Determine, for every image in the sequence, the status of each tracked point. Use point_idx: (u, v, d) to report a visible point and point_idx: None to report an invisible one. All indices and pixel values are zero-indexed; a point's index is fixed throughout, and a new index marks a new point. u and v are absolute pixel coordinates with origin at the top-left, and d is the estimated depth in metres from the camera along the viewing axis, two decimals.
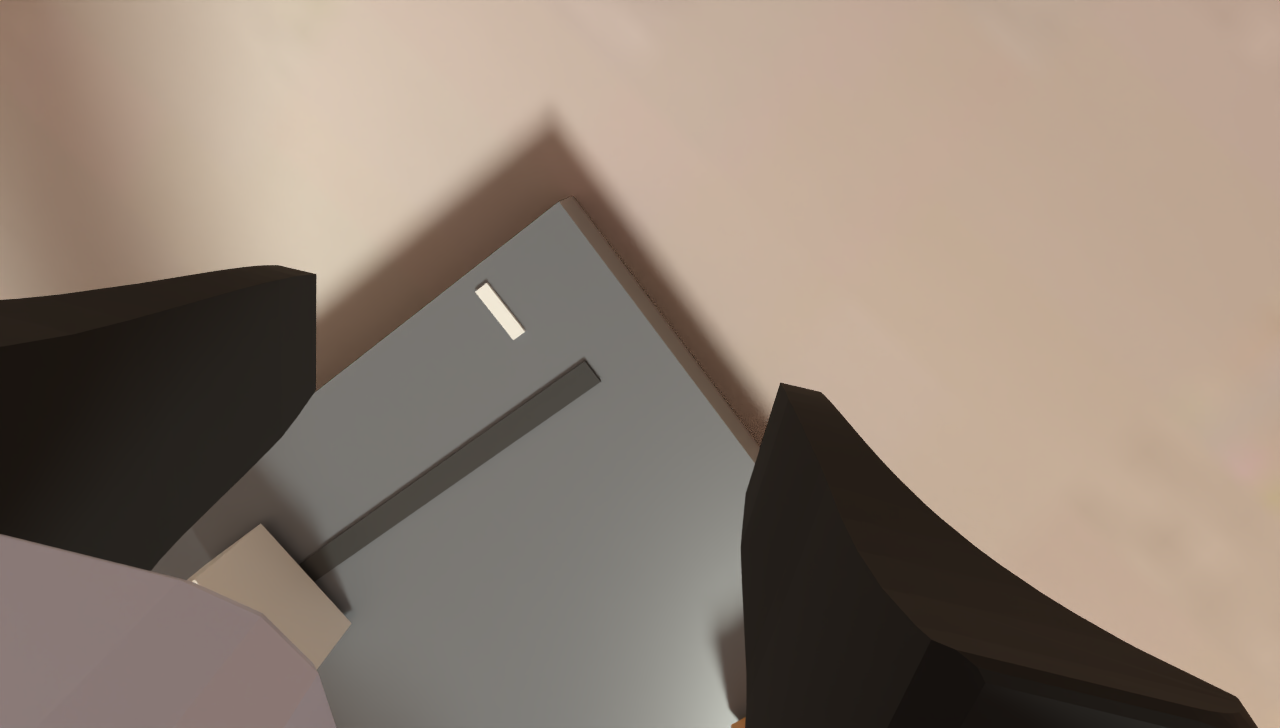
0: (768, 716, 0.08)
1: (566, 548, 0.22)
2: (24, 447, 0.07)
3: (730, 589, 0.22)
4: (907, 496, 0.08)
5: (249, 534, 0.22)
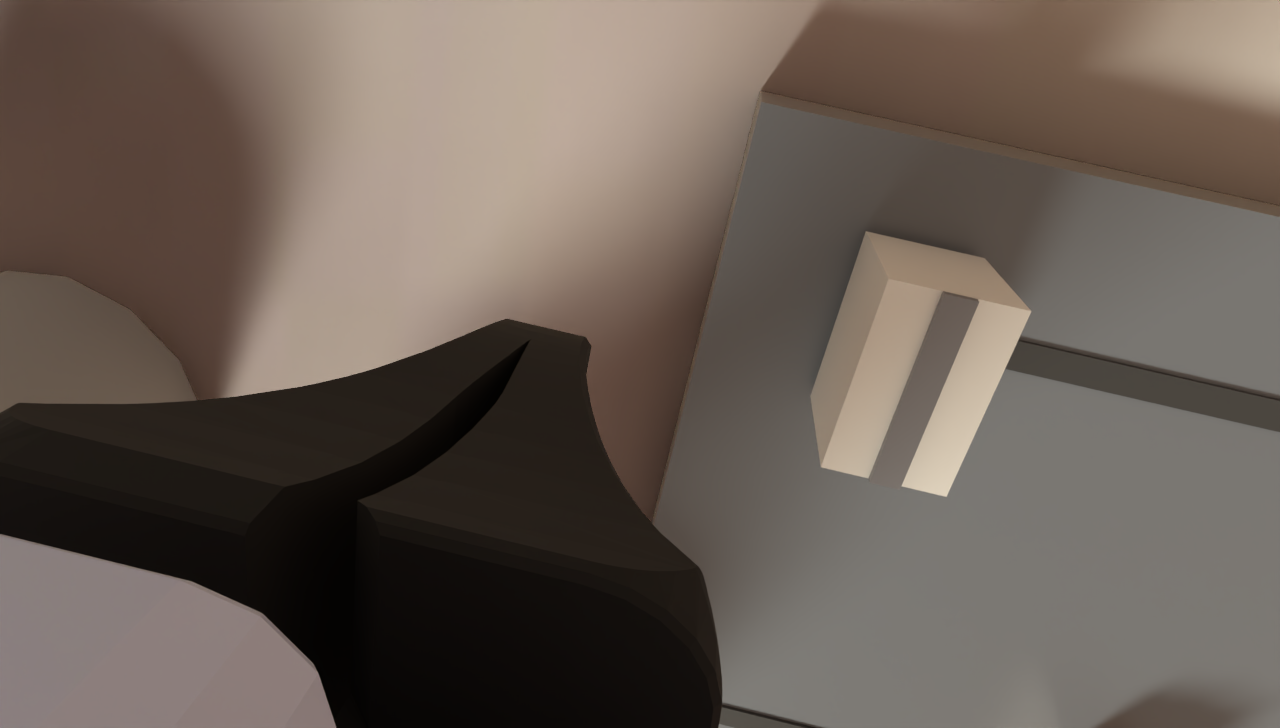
0: None
1: (1168, 541, 0.19)
2: None
3: (1219, 679, 0.20)
4: (578, 418, 0.08)
5: (990, 268, 0.16)
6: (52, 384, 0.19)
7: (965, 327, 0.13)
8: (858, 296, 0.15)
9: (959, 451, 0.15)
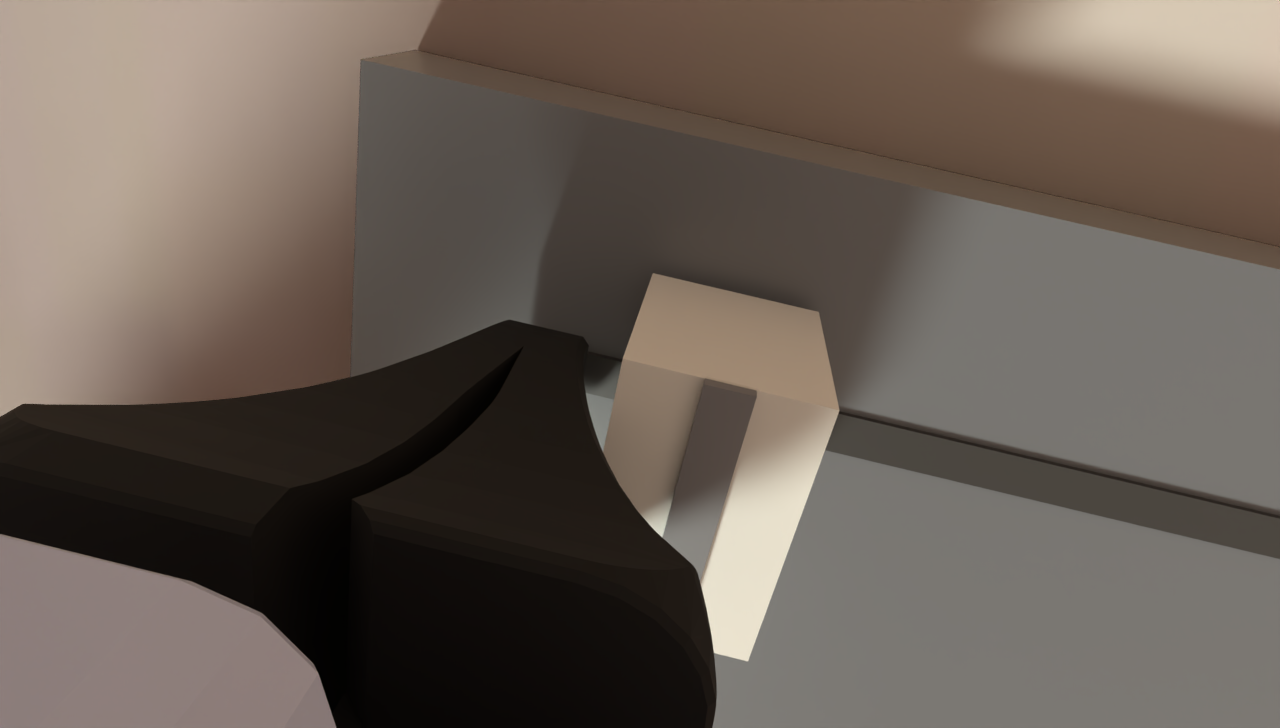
0: None
1: (987, 655, 0.14)
2: None
3: None
4: (574, 417, 0.08)
5: (819, 328, 0.11)
6: None
7: (739, 433, 0.09)
8: None
9: (758, 602, 0.10)
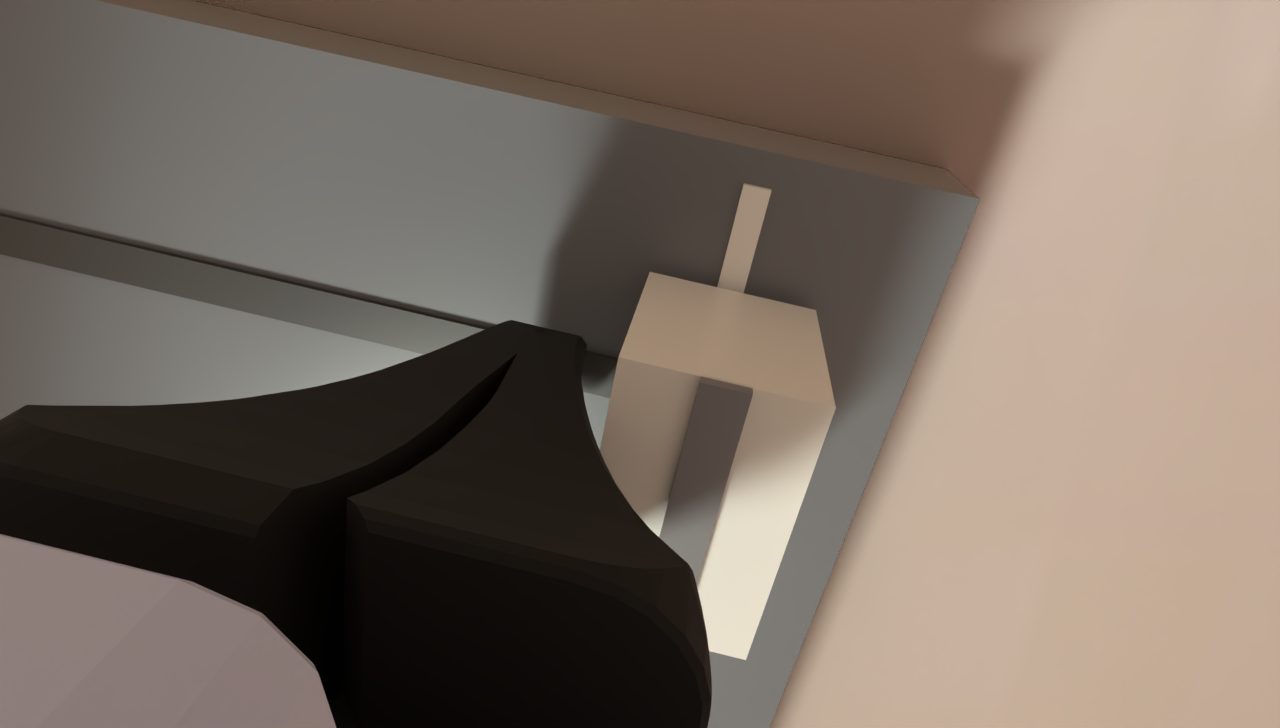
0: None
1: None
2: None
3: None
4: (571, 417, 0.08)
5: (816, 326, 0.11)
6: None
7: (737, 431, 0.09)
8: None
9: (756, 600, 0.10)
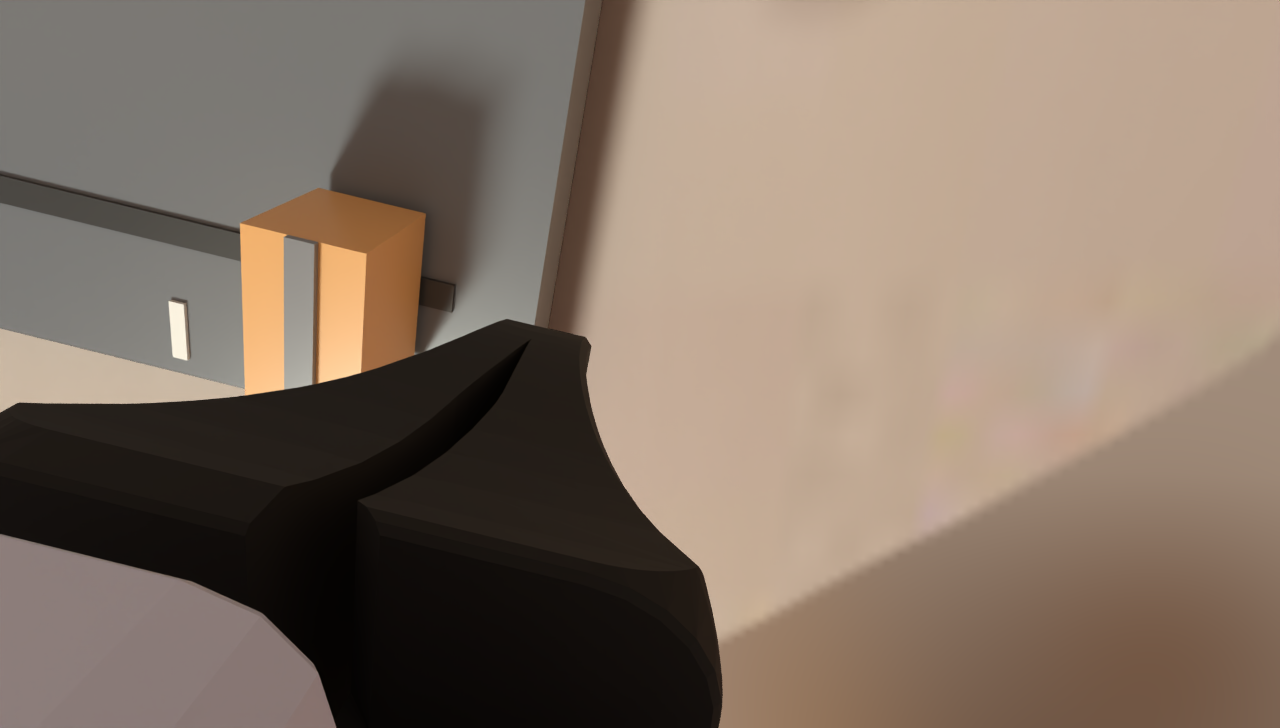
0: None
1: None
2: None
3: (444, 43, 0.16)
4: (578, 418, 0.08)
5: None
6: None
7: None
8: None
9: None
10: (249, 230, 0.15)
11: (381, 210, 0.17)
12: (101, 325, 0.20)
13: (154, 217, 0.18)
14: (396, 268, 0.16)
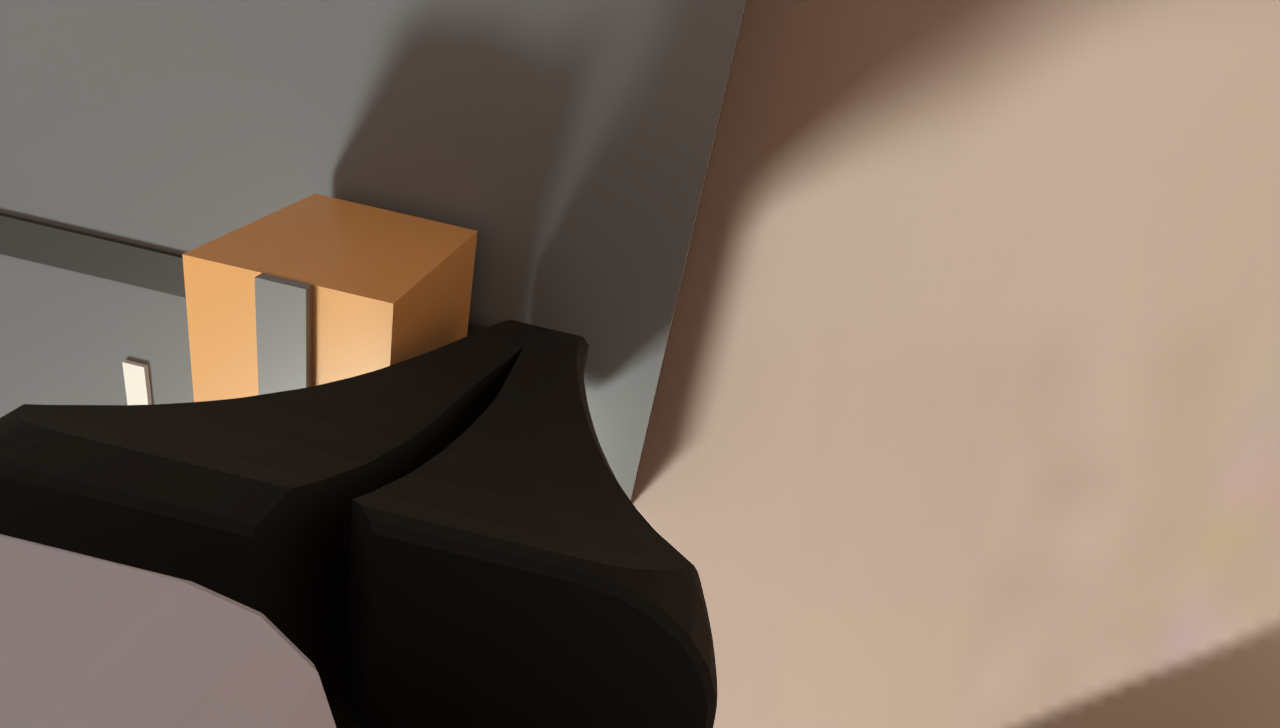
0: None
1: None
2: None
3: None
4: (574, 417, 0.08)
5: None
6: None
7: None
8: None
9: None
10: (199, 266, 0.09)
11: (412, 227, 0.11)
12: (30, 394, 0.14)
13: (97, 244, 0.13)
14: (436, 318, 0.10)
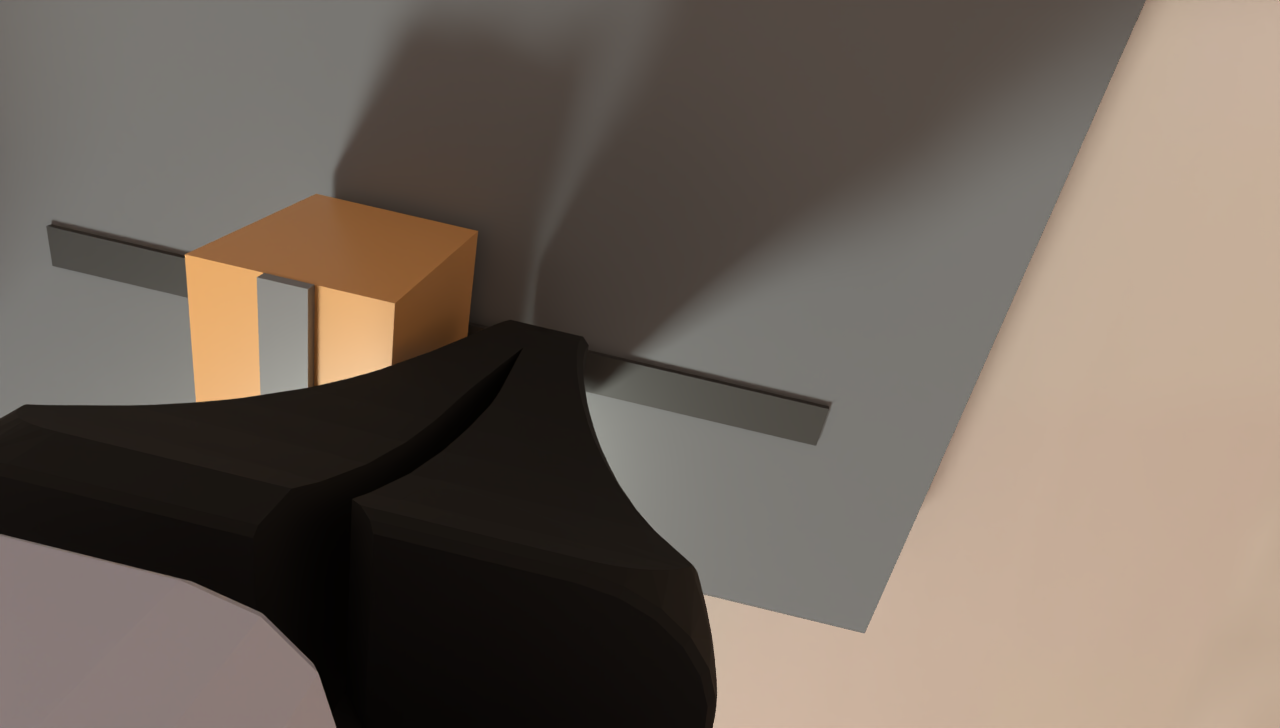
0: None
1: None
2: None
3: (890, 48, 0.10)
4: (574, 417, 0.08)
5: None
6: None
7: None
8: None
9: None
10: (200, 266, 0.09)
11: (413, 227, 0.11)
12: None
13: None
14: (437, 318, 0.11)
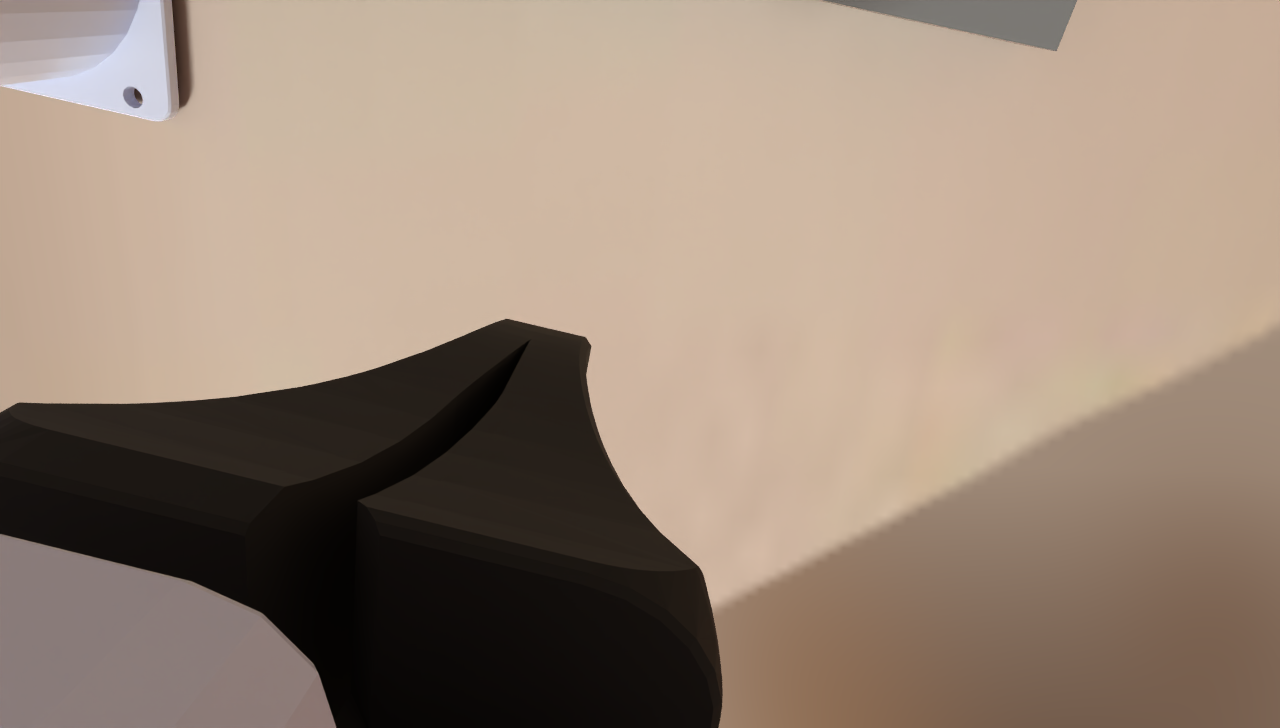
0: None
1: None
2: None
3: None
4: (577, 418, 0.08)
5: None
6: None
7: None
8: None
9: None
10: None
11: None
12: None
13: None
14: None
